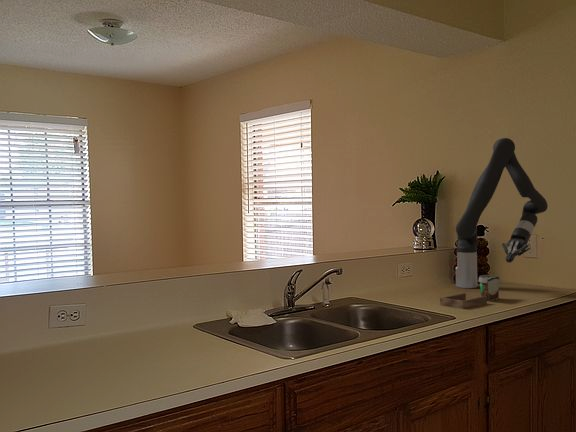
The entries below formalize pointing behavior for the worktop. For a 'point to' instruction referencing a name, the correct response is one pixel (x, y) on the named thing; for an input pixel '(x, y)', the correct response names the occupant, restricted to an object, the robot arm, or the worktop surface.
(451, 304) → the bay
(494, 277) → the food container
